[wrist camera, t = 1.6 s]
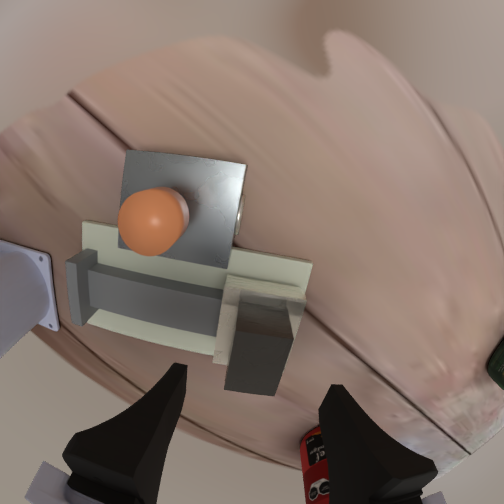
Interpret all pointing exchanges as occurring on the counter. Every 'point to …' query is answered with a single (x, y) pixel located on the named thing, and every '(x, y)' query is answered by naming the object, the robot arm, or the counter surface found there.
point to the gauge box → (193, 201)
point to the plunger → (153, 220)
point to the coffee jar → (497, 366)
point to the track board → (188, 273)
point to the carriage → (256, 333)
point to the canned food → (314, 468)
